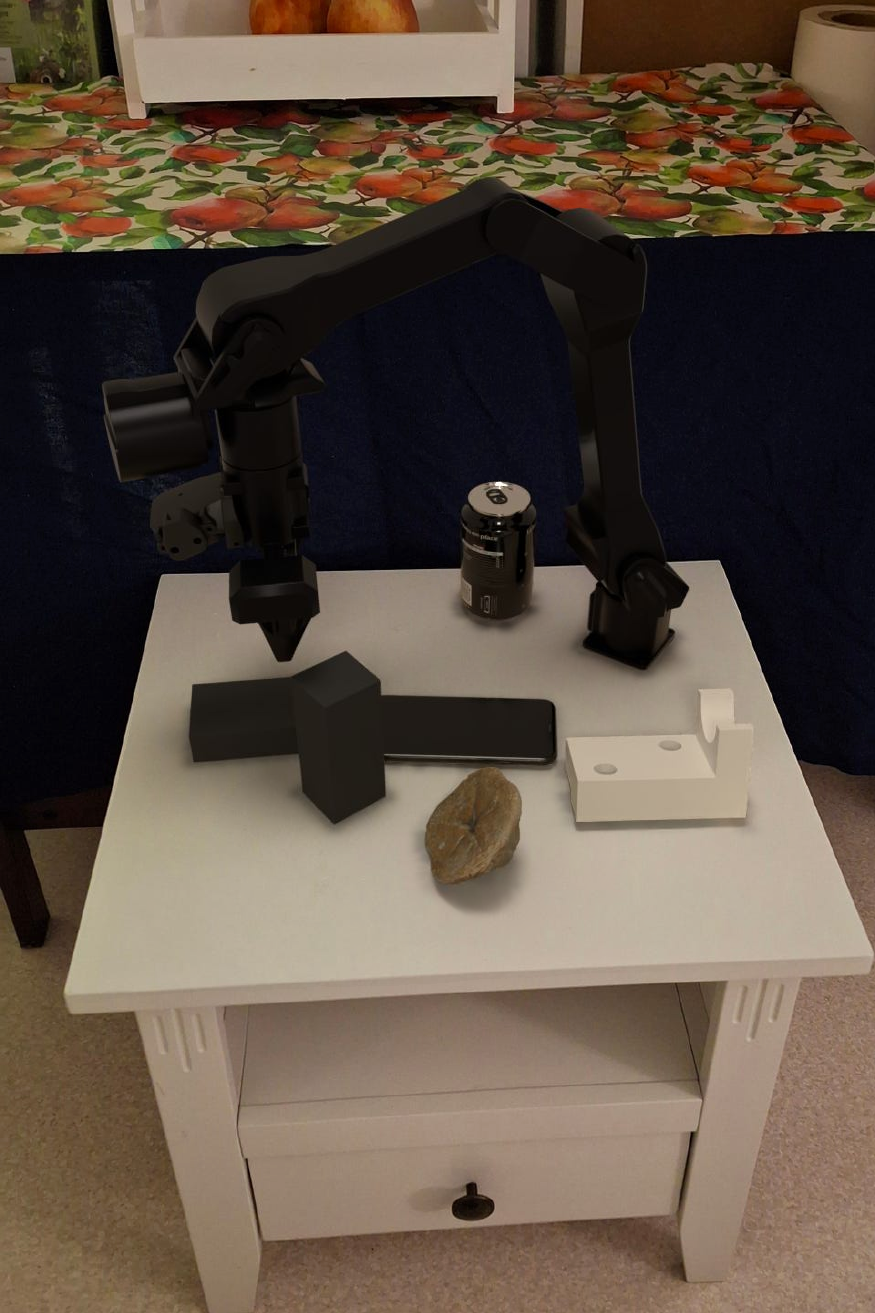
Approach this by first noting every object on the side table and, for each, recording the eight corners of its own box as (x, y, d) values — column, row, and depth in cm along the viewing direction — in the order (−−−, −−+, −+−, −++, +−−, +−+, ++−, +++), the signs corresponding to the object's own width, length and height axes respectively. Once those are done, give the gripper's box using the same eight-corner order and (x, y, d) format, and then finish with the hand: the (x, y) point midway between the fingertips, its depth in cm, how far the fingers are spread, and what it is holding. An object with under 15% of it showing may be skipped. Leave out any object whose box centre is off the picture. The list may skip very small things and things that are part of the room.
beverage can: (513, 579, 120) (517, 472, 112) (544, 617, 115) (550, 508, 107) (449, 595, 118) (449, 487, 110) (478, 634, 113) (480, 524, 105)
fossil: (487, 744, 93) (529, 815, 84) (525, 773, 95) (569, 845, 86) (408, 826, 94) (440, 904, 85) (446, 853, 96) (482, 932, 87)
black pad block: (353, 765, 99) (346, 650, 92) (386, 796, 97) (381, 680, 89) (302, 792, 97) (289, 676, 90) (334, 825, 94) (324, 707, 87)
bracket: (723, 772, 100) (731, 688, 97) (745, 817, 93) (754, 729, 90) (565, 776, 100) (567, 692, 97) (576, 821, 93) (579, 733, 90)
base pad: (336, 699, 106) (334, 673, 104) (340, 750, 101) (338, 723, 99) (196, 710, 105) (192, 683, 103) (193, 762, 100) (188, 735, 98)
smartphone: (360, 763, 99) (557, 769, 99) (360, 755, 99) (558, 761, 98) (370, 700, 106) (555, 705, 105) (369, 692, 105) (556, 697, 104)
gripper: (153, 399, 94) (183, 567, 103) (139, 531, 79) (175, 711, 89) (299, 388, 95) (315, 555, 104) (311, 517, 80) (328, 696, 90)
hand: (282, 624), depth 97 cm, fingers open, 9 cm apart
